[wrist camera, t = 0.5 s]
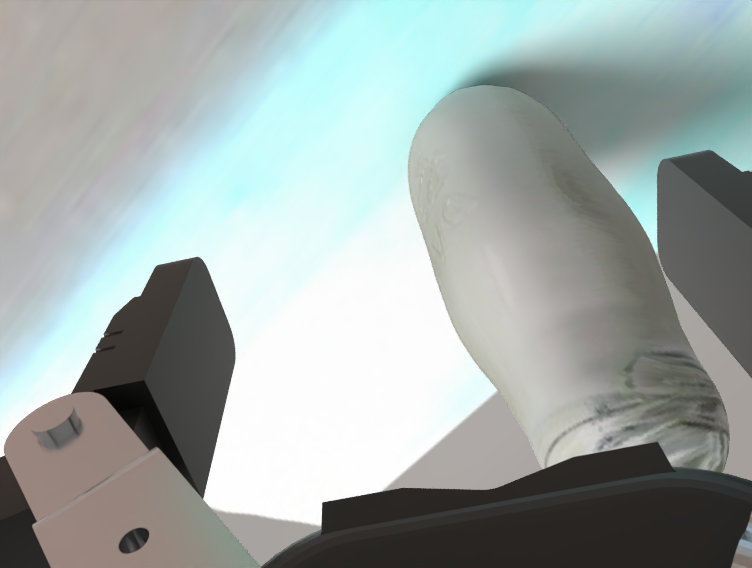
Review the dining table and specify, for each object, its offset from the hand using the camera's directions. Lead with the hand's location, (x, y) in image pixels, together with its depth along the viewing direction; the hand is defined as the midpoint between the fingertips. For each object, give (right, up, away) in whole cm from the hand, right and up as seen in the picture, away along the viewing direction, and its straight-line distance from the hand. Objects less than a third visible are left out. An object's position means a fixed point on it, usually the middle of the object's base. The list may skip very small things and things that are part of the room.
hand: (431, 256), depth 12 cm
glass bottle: (+5, +10, +34) cm, 35 cm away
